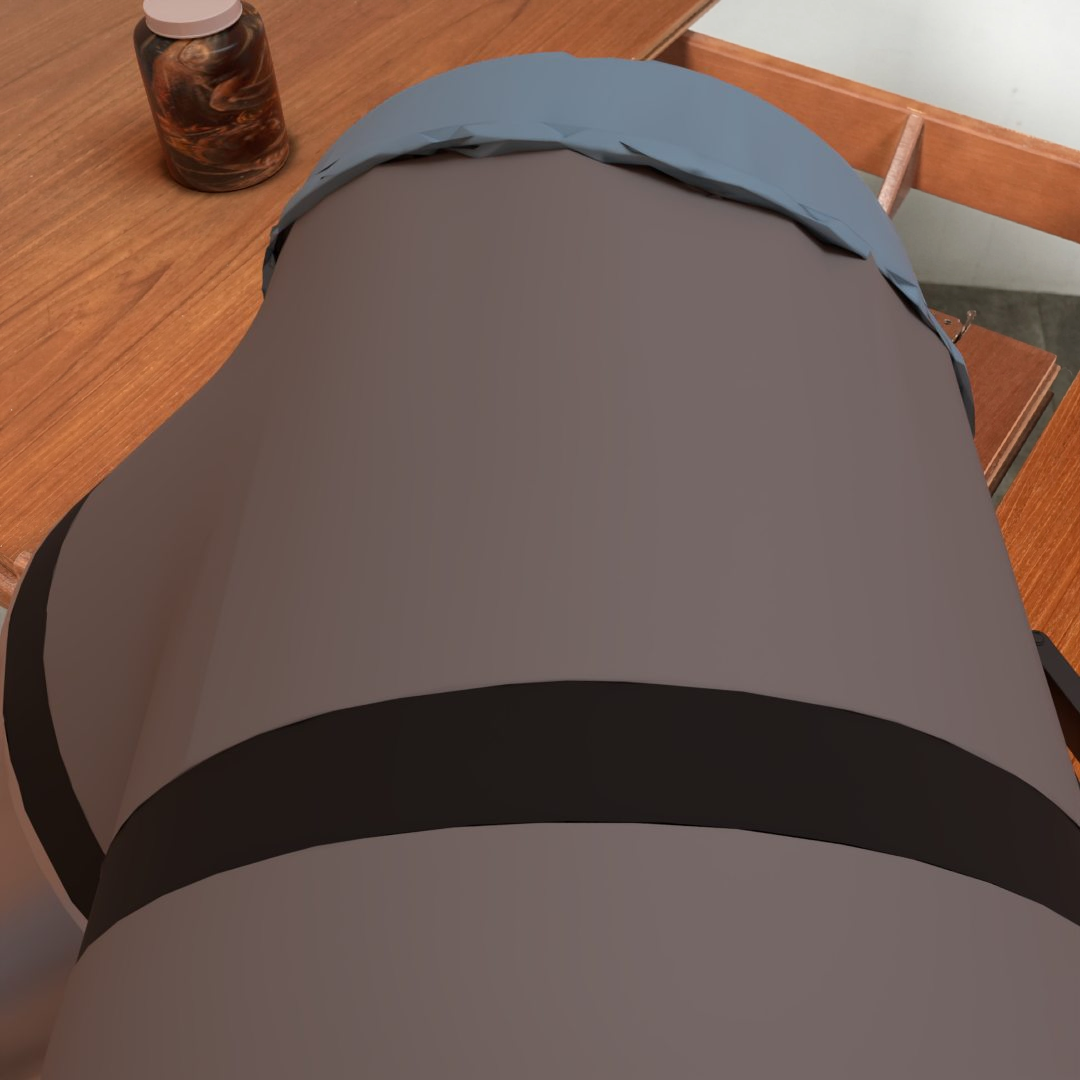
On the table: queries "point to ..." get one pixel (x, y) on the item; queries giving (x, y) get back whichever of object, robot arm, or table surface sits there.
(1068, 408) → the table surface
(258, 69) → the jar
